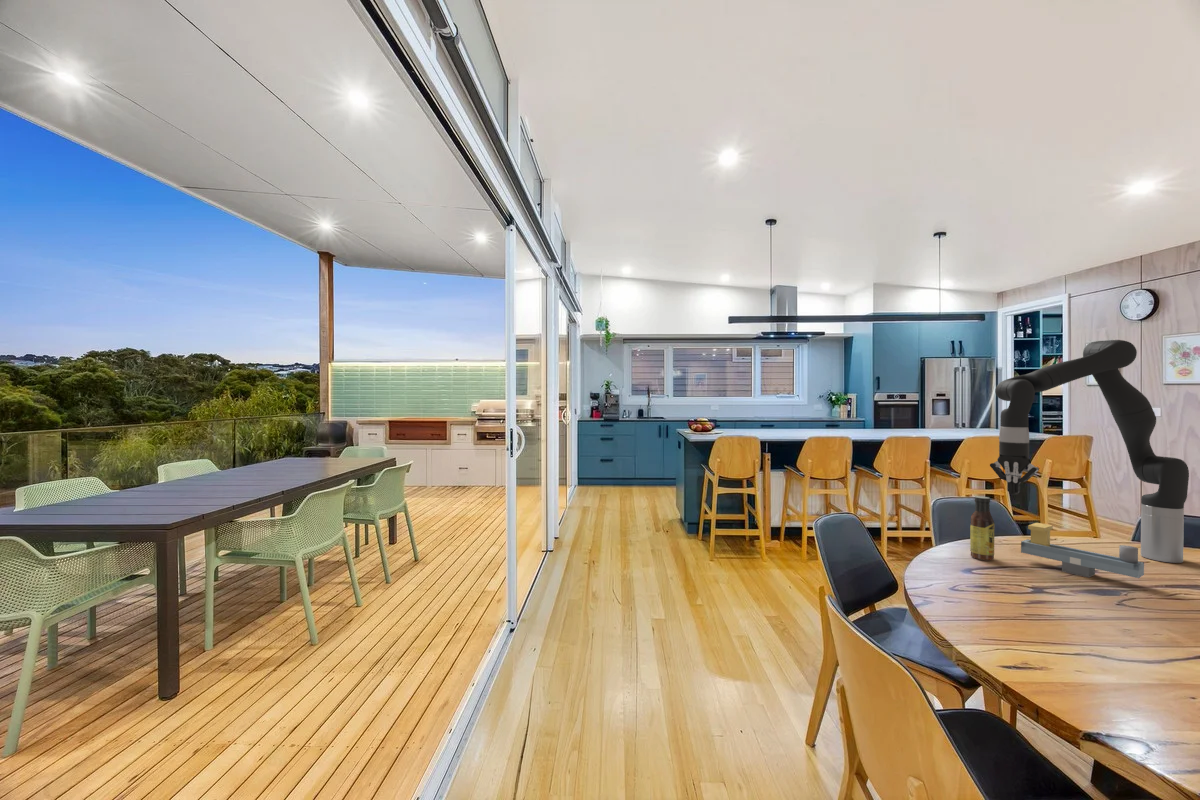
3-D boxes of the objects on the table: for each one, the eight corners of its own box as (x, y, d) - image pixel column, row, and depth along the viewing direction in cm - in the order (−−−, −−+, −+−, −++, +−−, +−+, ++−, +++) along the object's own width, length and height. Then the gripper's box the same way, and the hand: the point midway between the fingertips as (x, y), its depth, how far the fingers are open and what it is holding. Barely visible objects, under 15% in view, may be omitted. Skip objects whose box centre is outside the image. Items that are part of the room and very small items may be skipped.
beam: (1020, 561, 159) (1021, 529, 159) (1027, 559, 162) (1027, 526, 161) (1138, 589, 137) (1138, 551, 136) (1143, 585, 139) (1144, 548, 139)
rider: (1027, 548, 157) (1028, 525, 157) (1036, 544, 160) (1036, 522, 160) (1044, 551, 153) (1044, 528, 153) (1052, 548, 157) (1052, 525, 157)
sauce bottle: (994, 562, 158) (995, 500, 158) (969, 558, 162) (970, 497, 162) (994, 557, 163) (994, 496, 163) (970, 553, 167) (970, 494, 167)
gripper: (1044, 442, 159) (1044, 496, 159) (995, 438, 170) (994, 489, 170) (1034, 443, 155) (1034, 498, 155) (984, 439, 166) (984, 491, 166)
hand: (1013, 493), depth 163 cm, fingers closed
